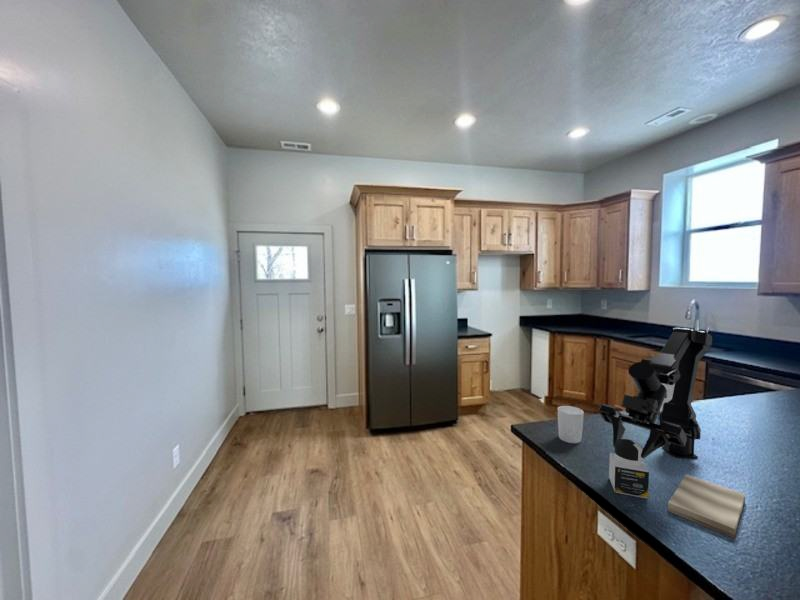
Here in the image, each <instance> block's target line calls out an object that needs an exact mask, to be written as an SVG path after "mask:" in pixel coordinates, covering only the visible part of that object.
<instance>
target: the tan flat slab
mask: <svg viewBox="0 0 800 600" xmlns="http://www.w3.org/2000/svg"><path fill="white" fill-rule="evenodd" d="M667 502H668V503H667V511H668V512H669V513H672V514H675V515H676V516H679V517H681V518H684V519H686V520H689V521H691V522H694V523H696V524H699V525H701V526H703V527H706V528H708V529H711V530H713V531H716V532H718V533H720V534H722V535H724V536H725V535H726V536H727V535H728V536H727V537H730V538H732V539H735V538H736V531H737V527H738V524H739V521H740V518H741V514H742V511H743V507H744V506H745V504H746V494H745V493H743V492H740V491H737V490H734V489H730V488H728V487H725V486H722V485H718V484H716V483H713V482H710V481H706V480H704V479H701V478H698V477H695V476H692V475H689V474H685V476H684V477H683V479H682V480H681V482H680V483H679V485H678V486H677V488H676V490H675V491H674V492H673V494H672V496H671V498H670V499H669V501H667Z"/></svg>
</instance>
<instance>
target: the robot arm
mask: <svg viewBox="0 0 800 600" xmlns="http://www.w3.org/2000/svg"><path fill="white" fill-rule="evenodd" d="M712 344H713V336H712V334H709V333H708V331H706V330H697V329H693V328H687V327H672V330H671V334H670V337H669V338H668V340H667V341H666V343H665V345H664V346H662V349H661V351H660V352H659V354H657V355H656V354H655V355H654V356H651V357H650V358H649V359H645V358H641V361H637V362H634V363H633V364H631V365H630V366H629V367H628V374H629V376H630V378H631V380H632V382H633V383H634V386H635V387H636V388H637V389H638V392H637V394H636V395H633V396H631V395H627V394H624V395H623V397H622V398H623V399H622V401H621V402H622V403H621V407H622V408H625V409H624V411H625V412H626V414H623V413H621V412H620V411H619V409H618V407H616V406H612V405H609V404H605V403H603V404H601V405H600V406H599V407H598V410H597V412H598V413H599V415H600V416H601V418H602V419H603V421H605V422H606V423H608V424H611V426H612V442H613V443H612V446H613V448H615V441H616V440H618V439H623V435H624V434H625V431H626V428H625V427H624V423H626V424H629V425H633V426H636V427H639V428H642V429H645V430H648V431H649V436H648V438H647V440H646V441H645V444H644V446H643V450H642V454H641V457H642V458H643V459H645V458H646V457H648V456H649V455H650V454H652V453H653V452H655V451H656V450H658V449H660V448H662V449H664V450H665V451H666V452H667V453H669V454H670V455H671V456H672V457H675V458H686V459H698V458H699V456H698V455H696V453H695V440H701V436H702V433H701V431H702V429H701V427H700V425H699V422H698V421H697V414H696V412H695V410H694V408H693V406H692V402H693V395H694V390H695V385H696V380H697V374H698V369H699V362H700V359H702V358H703V357H704V356H705V355H707V354H708V352H709V348H710V347H711V346H712ZM661 383H663V384H668V385H674V384H675V386H674V391H673V396H672V399H671V400H670V401H669V402H668V403H667V402H665V403H664V404H663V410H662V411H661V412H660V409H661V406H662V403H663V401H664V398H667V390H666V388H665V386H664V385H662V384H661ZM627 414H628V415H627ZM658 417H659V419H658V420H659V424H658V423H656V421H657V418H658Z"/></svg>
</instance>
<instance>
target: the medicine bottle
mask: <svg viewBox="0 0 800 600" xmlns="http://www.w3.org/2000/svg"><path fill="white" fill-rule="evenodd" d="M643 448H644V446H642V444H640V443H639V442H637V441H635V440H632V439H628V438H627V439H626V438H621V439H618V440H616V441H615V447H614V452H610V453H609V465H608V466H609V469H608V470H609V471H608V472H609V473H608V478H609V481H610V483H611V486H612V489H613V492H614V493H616V494H621V495H626V496H632V497H637V498H642V499H649V484H650V483H649V482H650V478H649V477H650V476H649V475H650V471H649V469H648V467H647V466H646V463H645V462H644V458H642V457H641V454H642V450H643Z"/></svg>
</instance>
